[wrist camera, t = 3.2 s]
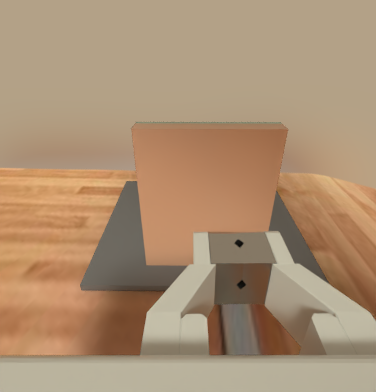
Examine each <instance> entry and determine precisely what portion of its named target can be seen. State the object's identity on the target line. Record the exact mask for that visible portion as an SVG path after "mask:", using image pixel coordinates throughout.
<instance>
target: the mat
mask: <svg viewBox="0 0 376 392" xmlns="http://www.w3.org/2000/svg"><path fill="white" fill-rule="evenodd" d="M268 231H278V232H280V234H281V236H282V238H283V240H284V242H285V244H286V246H287V249H288V251H289V253H290V255H291V257H292V259H293V261H294V263H295V264H300V265H302V266H303V267H305V268H306V269H308V270H309V271H311V272H312V273H313V274H315V275H316V276H318V277H319V278H321V279H322V280H324V281H325V282H327V283H328V284H329V282H328V281H327V279H326V277H325V275H324V274H323V272H322V270H321V268H320V267H319V265H318V263H317V261H316V259H315V258H314V256H313V254H312V252H311V251H310V249H309V247H308V245H307V244H306V242H305V240H304V238H303V237H302V235H301V233H300V231H299V229H298V228H297V226H296V224H295V222H294V221H293V219H292V217H291V215H290V214H289V212H288V210H287V208H286V207H285V205H284V203H283V201H282V200H281V198H280V196H279V194H278V192H277V191H276V194H275V199H274V205H273V210H272V215H271V220H270V225H269V230H268ZM186 267H187V266H170V265H146V257H145V248H144V239H143V230H142V221H141V212H140V202H139V193H138V184H137V181H127V182H126V184H125V186H124V188H123V190H122V193H121V195H120V197H119V199H118V202H117V204H116V206H115V208H114V211H113V213H112V215H111V217H110V219H109V222H108V224H107V226H106V228H105V231H104V233H103V235H102V237H101V240H100V242H99V244H98V246H97V248H96V251H95V253H94V255H93V257H92V260H91V262H90V264H89V266H88V269H87V271H86V273H85V275H84V277H83V280H82V282H81V284H80V287H81V290H113V291H166V290H167V289H168V288H169V287H170V286H171V285H172V283H173V282H174V281H175V280H176V279H177V278H178V277H179V275H180V274H181V273H182V272H183V271H184V270H185V269H186ZM329 285H330V284H329Z"/></svg>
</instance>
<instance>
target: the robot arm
mask: <svg viewBox="0 0 376 392" xmlns="http://www.w3.org/2000/svg"><path fill="white" fill-rule="evenodd" d="M215 304H265V307H266V308H267V309H268V310H269V311H270V312H271V313H272V315H273V316H274V317H275V318H276V319H277V320H278V321H279V322H280V324H281V325H282V326H283V327H284V328H285V329H286V330H287V332H288V333H289V334H290V335H291V336H292V337H293V338H294V339H295V341H296V342H297V343H298V344H299V345H300V346H301V349H300V352H299V355H209V341H208V327H207V318H208V316H209V314H210V312H211V311H212V309H213V307H214V305H215ZM0 392H376V321H375V319H374V318H373V316H372V315H371V313H370V312H369V311H367V310H366V309H364V308H363V307H361V306H360V305H358V304H357V303H356V302H354V301H353V300H351V299H350V298H348V297H347V296H345V295H344V294H342V293H341V292H340V291H338V290H337V289H335V288H334V287H332V286H331V285H329V284H328V283H327V282H325V281H324V280H322V279H321V278H319V277H318V276H316V275H315V274H313V273H312V272H311V271H309V270H308V269H306V268H305V267H303V266H302V265H300V264H295V263H294V261H293V259H292V257H291V255H290V253H289V251H288V249H287V246H286V244H285V242H284V240H283V238H282V236H281V234H280V232H278V231H264V232H193V264H189V265H188V266H187V267H186V269H185V270H184V271H183V272H182V273H181V274H180V275H179V277H178V278H177V279H176V280H175V281H174V282H173V283H172V285H171V286H170V287H169V288H168V289H167V290H166V291H165V293H164V294H163V295H162V296H161V297H160V298H159V299H158V301H157V302H156V303H155V304H154V305H153V306H152V307H151V309H150V310H149V311H148V312H147V315H146V321H145V327H144V333H143V339H142V345H141V351H140V355H0Z"/></svg>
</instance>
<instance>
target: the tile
mask: <svg viewBox="0 0 376 392" xmlns="http://www.w3.org/2000/svg"><path fill="white" fill-rule="evenodd" d="M287 132H288V129H287V128H286V127H285V126H284V125H283V124H282V123H281V122H276V123H275V122H263V123H262V122H136V123H135V124H134V126H133V127H132V138H133V147H134V156H135V165H136V175H137V184H138V193H139V202H140V212H141V221H142V230H143V239H144V248H145V257H146V265H170V266H188V265H189V264H193V232H264V231H268V230H269V225H270V220H271V215H272V210H273V205H274V199H275V194H276V189H277V184H278V179H279V174H280V169H281V163H282V158H283V153H284V147H285V143H286V138H287Z"/></svg>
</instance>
